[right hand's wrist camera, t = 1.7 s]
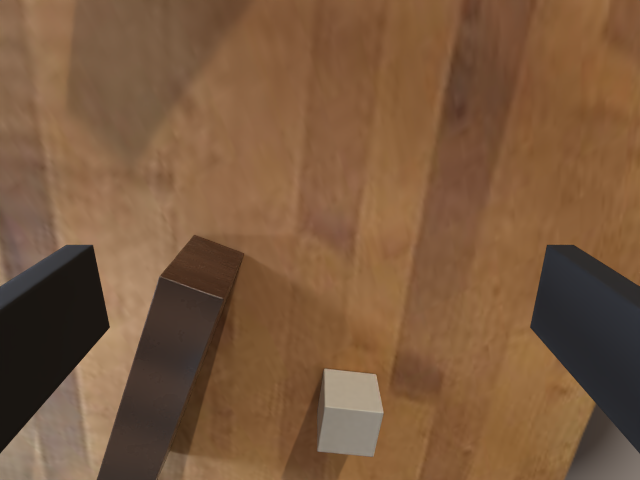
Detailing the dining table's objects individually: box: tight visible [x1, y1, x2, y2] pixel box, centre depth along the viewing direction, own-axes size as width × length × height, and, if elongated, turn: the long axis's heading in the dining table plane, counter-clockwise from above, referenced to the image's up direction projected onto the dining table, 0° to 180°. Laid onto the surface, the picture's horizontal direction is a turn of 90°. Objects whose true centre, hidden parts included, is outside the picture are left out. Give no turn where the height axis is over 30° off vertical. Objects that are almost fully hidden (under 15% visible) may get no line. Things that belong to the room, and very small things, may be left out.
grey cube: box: [317, 369, 384, 457], centre depth 38 cm, size 5×5×5 cm
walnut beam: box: [97, 235, 244, 480], centre depth 35 cm, size 24×4×8 cm, turn 157°
